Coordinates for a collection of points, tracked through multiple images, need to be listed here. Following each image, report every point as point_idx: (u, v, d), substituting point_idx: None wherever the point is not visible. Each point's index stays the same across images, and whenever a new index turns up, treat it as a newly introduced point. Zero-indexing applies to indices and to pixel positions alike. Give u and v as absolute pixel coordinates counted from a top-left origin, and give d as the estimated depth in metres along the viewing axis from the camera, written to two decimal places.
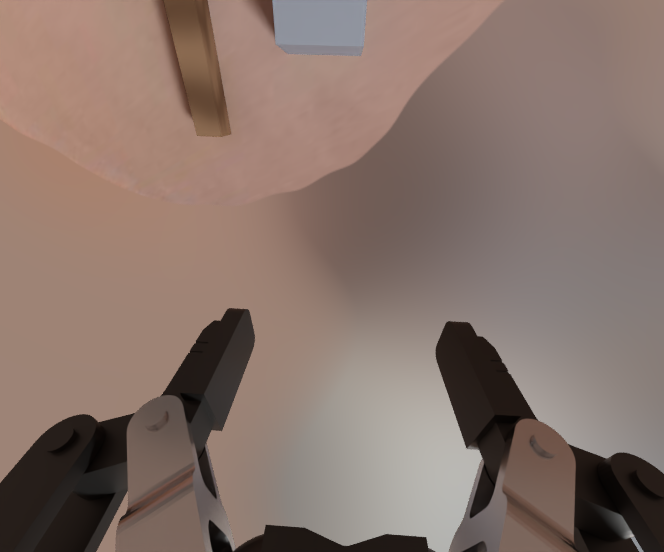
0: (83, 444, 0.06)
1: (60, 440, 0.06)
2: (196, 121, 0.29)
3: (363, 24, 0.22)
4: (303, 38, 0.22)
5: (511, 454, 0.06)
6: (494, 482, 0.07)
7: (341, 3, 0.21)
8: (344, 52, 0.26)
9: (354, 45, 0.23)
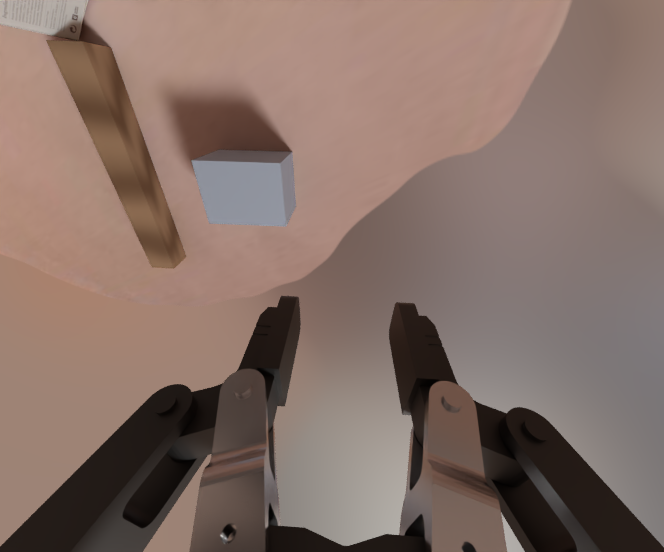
0: (184, 409, 0.06)
1: (165, 404, 0.06)
2: (150, 257, 0.32)
3: (283, 213, 0.25)
4: (232, 220, 0.25)
5: (429, 420, 0.06)
6: None
7: (261, 199, 0.24)
8: None
9: (278, 225, 0.26)
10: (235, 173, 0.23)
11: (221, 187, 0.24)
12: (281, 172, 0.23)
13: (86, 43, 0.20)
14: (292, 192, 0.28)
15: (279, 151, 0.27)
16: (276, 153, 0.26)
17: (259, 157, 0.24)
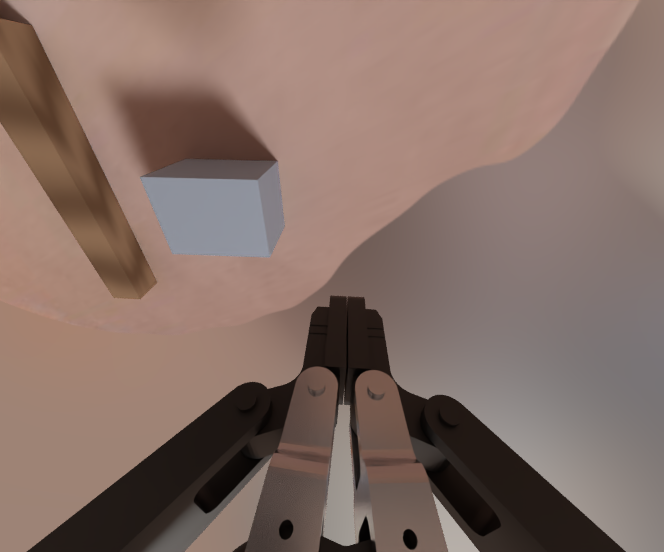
0: (264, 407, 0.07)
1: (246, 402, 0.06)
2: (110, 287, 0.27)
3: (265, 241, 0.19)
4: (201, 250, 0.20)
5: (359, 416, 0.06)
6: None
7: (236, 225, 0.19)
8: None
9: (259, 256, 0.20)
10: (199, 193, 0.17)
11: (182, 210, 0.18)
12: (260, 191, 0.17)
13: None
14: (279, 211, 0.22)
15: None
16: (256, 163, 0.20)
17: (232, 170, 0.18)
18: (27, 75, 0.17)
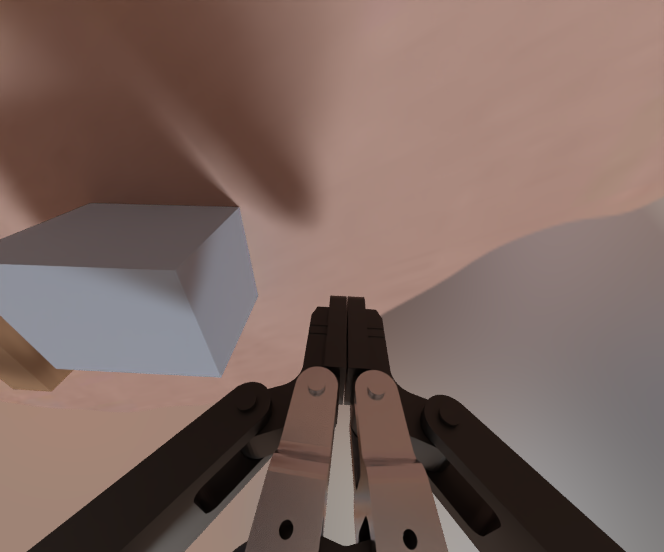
0: (264, 407, 0.07)
1: (246, 402, 0.06)
2: (3, 378, 0.18)
3: (209, 358, 0.11)
4: (103, 366, 0.12)
5: (359, 416, 0.06)
6: None
7: (153, 336, 0.10)
8: None
9: (203, 375, 0.12)
10: (68, 289, 0.09)
11: (48, 314, 0.10)
12: (186, 286, 0.09)
13: None
14: (244, 283, 0.14)
15: (212, 206, 0.13)
16: (200, 215, 0.12)
17: (145, 237, 0.10)
18: None
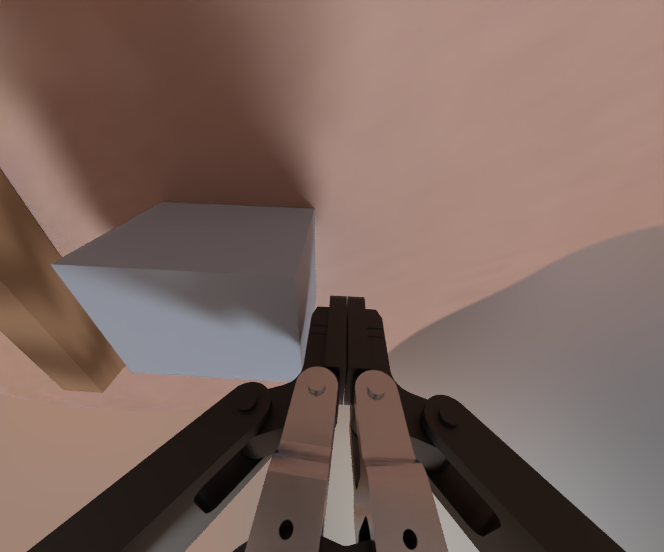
0: (265, 407, 0.07)
1: (246, 402, 0.06)
2: (56, 379, 0.18)
3: (297, 364, 0.11)
4: (182, 370, 0.11)
5: (359, 416, 0.06)
6: None
7: (246, 342, 0.10)
8: None
9: (284, 380, 0.11)
10: (173, 293, 0.09)
11: (143, 318, 0.09)
12: (296, 292, 0.09)
13: None
14: (312, 287, 0.14)
15: (287, 208, 0.13)
16: (281, 218, 0.12)
17: (241, 240, 0.10)
18: None
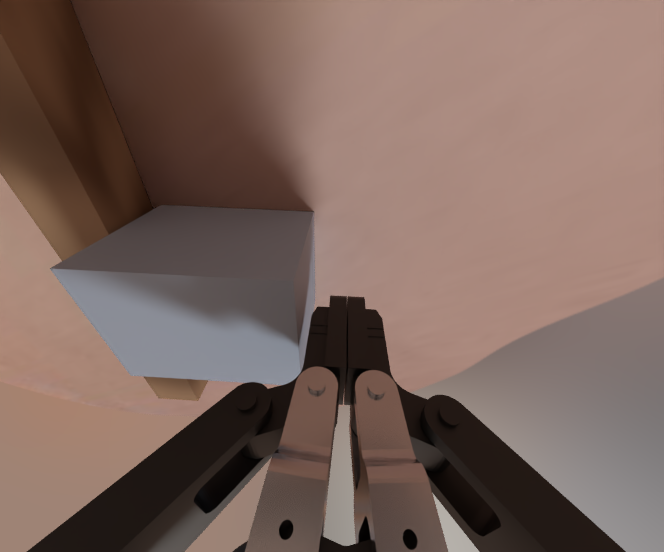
0: (264, 407, 0.07)
1: (246, 402, 0.06)
2: (155, 387, 0.18)
3: (296, 367, 0.11)
4: (181, 373, 0.11)
5: (359, 416, 0.06)
6: None
7: (245, 345, 0.10)
8: None
9: (283, 383, 0.11)
10: (173, 297, 0.09)
11: (143, 321, 0.09)
12: (295, 296, 0.09)
13: None
14: (311, 289, 0.14)
15: (286, 211, 0.13)
16: (280, 221, 0.12)
17: (240, 244, 0.10)
18: (46, 68, 0.08)
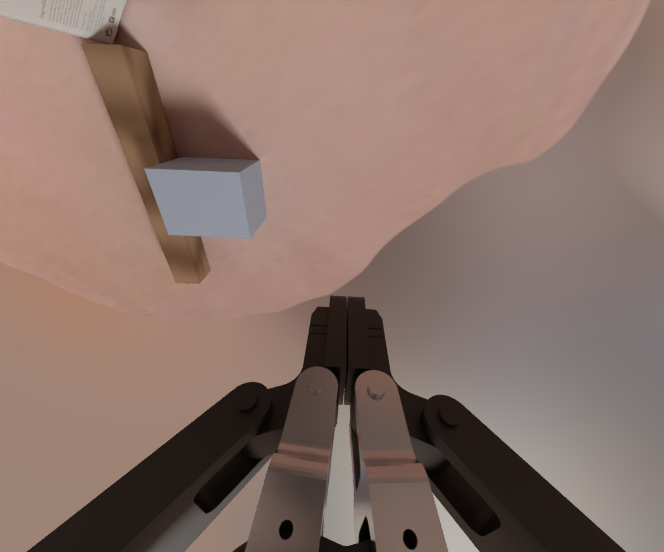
0: (264, 407, 0.07)
1: (246, 402, 0.06)
2: (174, 272, 0.30)
3: (246, 224, 0.23)
4: (193, 231, 0.24)
5: (359, 416, 0.06)
6: None
7: (222, 210, 0.23)
8: None
9: (241, 237, 0.24)
10: (191, 182, 0.21)
11: (178, 197, 0.22)
12: (241, 182, 0.21)
13: (124, 47, 0.19)
14: (260, 202, 0.26)
15: (246, 159, 0.25)
16: (241, 161, 0.24)
17: (220, 165, 0.22)
18: (142, 91, 0.21)
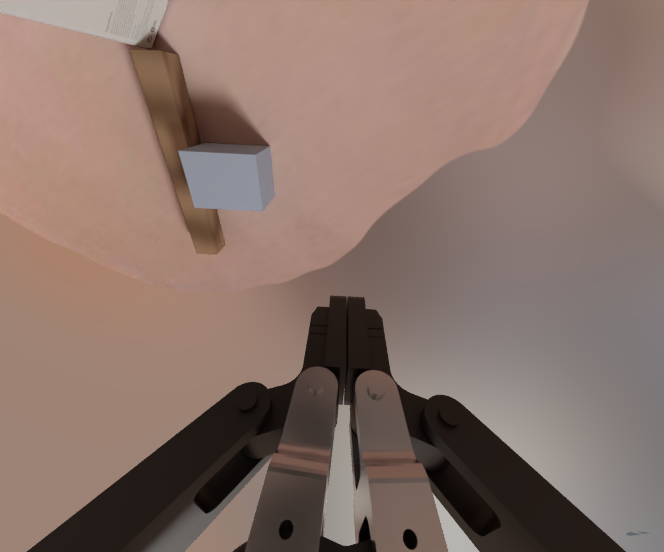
0: (264, 407, 0.07)
1: (246, 402, 0.06)
2: (196, 244, 0.35)
3: (259, 199, 0.28)
4: (215, 205, 0.29)
5: (359, 416, 0.06)
6: None
7: (240, 187, 0.27)
8: None
9: (255, 210, 0.29)
10: (216, 163, 0.26)
11: (204, 175, 0.27)
12: (257, 163, 0.26)
13: (163, 52, 0.24)
14: (270, 182, 0.31)
15: (258, 145, 0.30)
16: (255, 147, 0.29)
17: (238, 150, 0.27)
18: (176, 87, 0.26)
